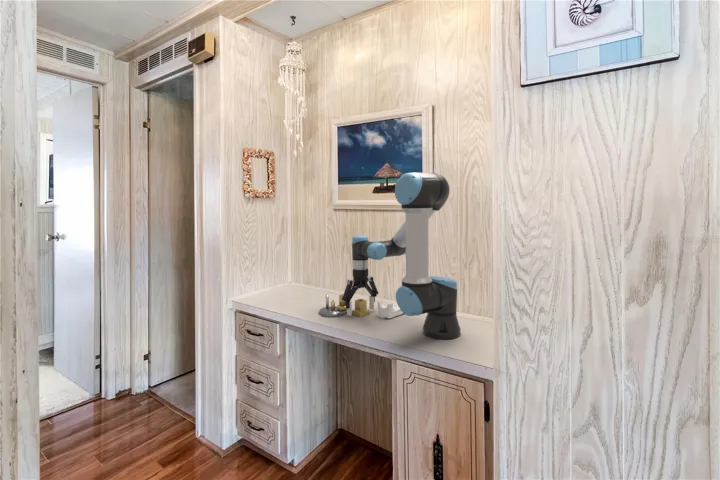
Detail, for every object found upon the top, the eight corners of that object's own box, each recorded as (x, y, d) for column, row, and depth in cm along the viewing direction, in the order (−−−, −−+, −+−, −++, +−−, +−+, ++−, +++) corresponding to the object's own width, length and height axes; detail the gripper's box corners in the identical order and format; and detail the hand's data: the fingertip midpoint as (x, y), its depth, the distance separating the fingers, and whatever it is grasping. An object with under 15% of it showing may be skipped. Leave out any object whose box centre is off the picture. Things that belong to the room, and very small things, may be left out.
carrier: (352, 313, 180) (352, 294, 179) (329, 319, 171) (328, 299, 170) (337, 307, 190) (337, 289, 189) (314, 312, 182) (314, 294, 181)
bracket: (389, 320, 170) (389, 304, 169) (377, 317, 175) (377, 301, 174) (407, 314, 179) (407, 298, 178) (395, 310, 184) (395, 296, 183)
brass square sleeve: (369, 314, 177) (369, 300, 176) (359, 317, 173) (359, 302, 173) (361, 311, 182) (361, 297, 181) (352, 314, 178) (351, 300, 177)
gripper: (375, 264, 186) (375, 305, 188) (334, 270, 170) (334, 315, 173) (385, 266, 180) (385, 308, 182) (343, 273, 165) (344, 319, 167)
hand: (360, 312), depth 178 cm, fingers open, 13 cm apart
